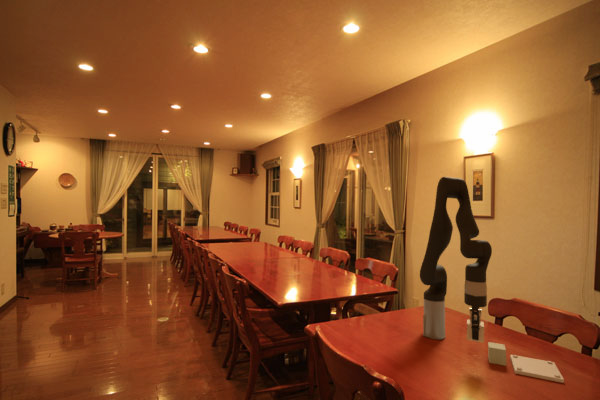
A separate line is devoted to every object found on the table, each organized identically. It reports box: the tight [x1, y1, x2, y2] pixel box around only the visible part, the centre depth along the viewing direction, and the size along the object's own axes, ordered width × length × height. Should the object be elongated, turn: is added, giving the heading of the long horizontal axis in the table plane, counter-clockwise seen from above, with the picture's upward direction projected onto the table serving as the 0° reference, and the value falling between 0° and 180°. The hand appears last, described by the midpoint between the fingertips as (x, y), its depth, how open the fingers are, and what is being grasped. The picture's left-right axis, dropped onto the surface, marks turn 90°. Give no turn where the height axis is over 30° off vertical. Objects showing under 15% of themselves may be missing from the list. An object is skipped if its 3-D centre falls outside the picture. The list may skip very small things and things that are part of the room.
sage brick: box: [487, 341, 507, 367], centre depth 125 cm, size 6×6×6 cm
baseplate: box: [509, 354, 565, 384], centre depth 119 cm, size 14×14×2 cm
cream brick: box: [466, 318, 485, 344], centre depth 122 cm, size 6×6×6 cm
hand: (475, 336), depth 122 cm, fingers closed on cream brick, 5 cm apart
